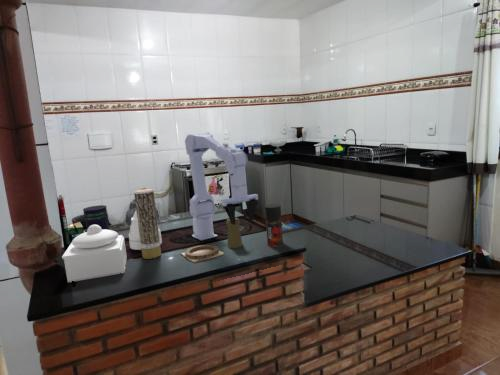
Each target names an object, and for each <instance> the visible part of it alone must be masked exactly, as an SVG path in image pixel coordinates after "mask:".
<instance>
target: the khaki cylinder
mask: <svg viewBox="0 0 500 375" xmlns="http://www.w3.org/2000/svg"><path fill="white" fill-rule="evenodd" d="M225 224H226V226H227V245H226V246H228V247H229V249H238V247H239V248H242V247H243V245H244V244H243V239H242V235H241V230H240V225H241V221H240V218H238V217H235V225H233V224H231V222H230V219H229V218H228V219H226V222H225ZM241 246H242V247H241ZM228 247H227V248H228Z"/></svg>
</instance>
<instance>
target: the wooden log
mask: <svg viewBox="0 0 500 375" xmlns="http://www.w3.org/2000/svg"><path fill="white" fill-rule="evenodd" d="M154 192H155V191H154V188H145V189H138V190H135V191H134V192H133V193H134V201H135V209H136V210H135V211H137V218H138V226H139V234H140V242H141V249H142V250H141V256H142V258H143V259H145V260H151V259H152V258H153V259H157V258H159V257H160V256H161V255H162V251H161V244H160V240H159V231H158V227H159V224H158V216H157V208H156V198H155V193H154ZM158 256H159V257H158ZM156 257H157V258H156ZM153 259H152V260H153Z"/></svg>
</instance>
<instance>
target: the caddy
mask: <svg viewBox="0 0 500 375" xmlns="http://www.w3.org/2000/svg"><path fill="white" fill-rule="evenodd" d="M181 254H182V255H183V256H182V255H181ZM180 255H181V256H182V257H184V258H185V257H186V258H185V259H187V260H189V261H190V262H192V263H193V264H195V263H199V262H202V261H206V260H210V259H213V258H217V257H220V256H224V255H225V253H224V252H223V251H222V250H219V247H218V246H217V245H214V244H200V245H195V246H192V247H190V248H187V249H186V250H185V251H184V252H180Z"/></svg>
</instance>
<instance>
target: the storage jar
mask: <svg viewBox="0 0 500 375" xmlns="http://www.w3.org/2000/svg"><path fill="white" fill-rule="evenodd" d="M82 211H83V219H84V220H83V221H84V222H85V228H86V230H85V232H87V229H88V228H89V227H90V226H91V225H99V226H100V227H101V229H106V230H111V228H110V226H109V215H108V213H109V212H108V209H107V205H93V206H88V207H84V208H82Z"/></svg>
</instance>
